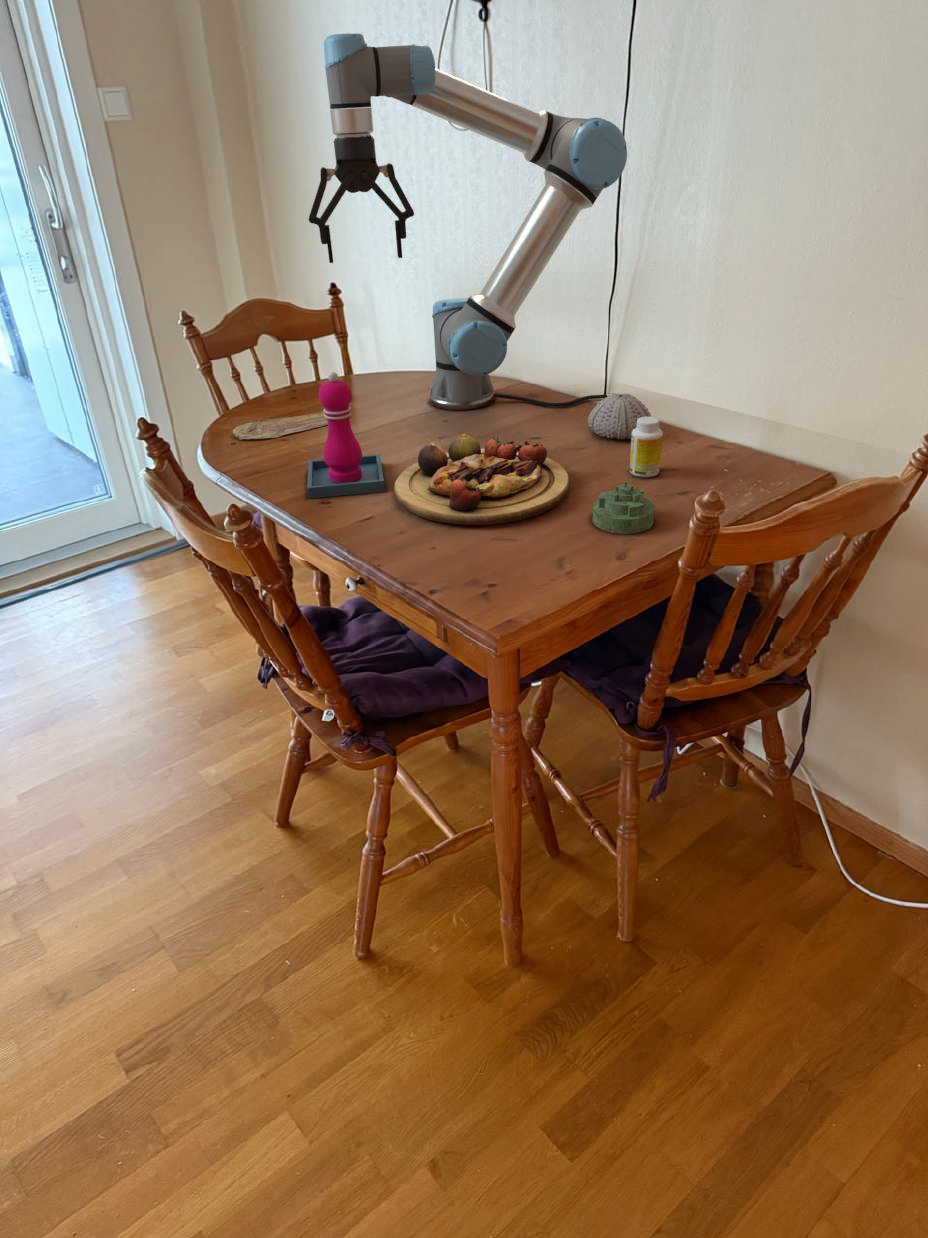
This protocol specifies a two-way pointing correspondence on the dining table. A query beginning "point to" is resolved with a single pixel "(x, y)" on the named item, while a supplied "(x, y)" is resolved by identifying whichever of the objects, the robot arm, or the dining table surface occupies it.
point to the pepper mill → (340, 432)
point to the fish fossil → (279, 426)
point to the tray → (324, 487)
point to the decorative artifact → (623, 511)
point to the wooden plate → (481, 482)
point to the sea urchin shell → (617, 416)
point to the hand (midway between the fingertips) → (365, 259)
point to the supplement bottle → (646, 447)
